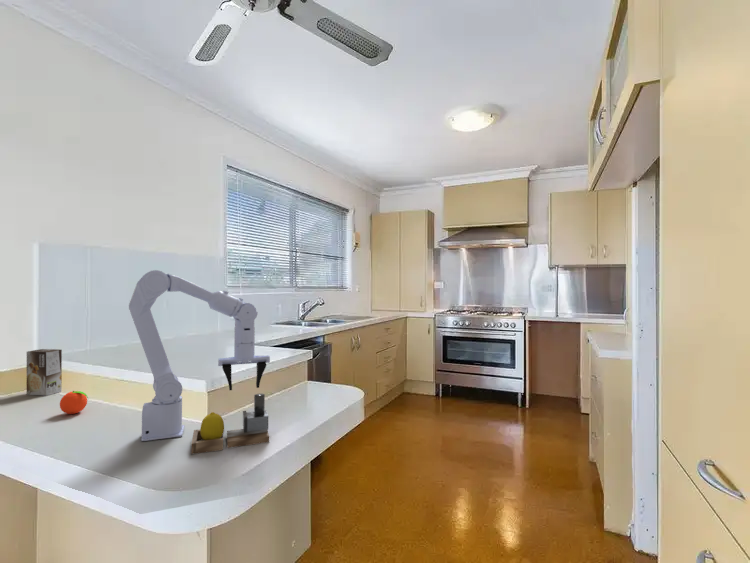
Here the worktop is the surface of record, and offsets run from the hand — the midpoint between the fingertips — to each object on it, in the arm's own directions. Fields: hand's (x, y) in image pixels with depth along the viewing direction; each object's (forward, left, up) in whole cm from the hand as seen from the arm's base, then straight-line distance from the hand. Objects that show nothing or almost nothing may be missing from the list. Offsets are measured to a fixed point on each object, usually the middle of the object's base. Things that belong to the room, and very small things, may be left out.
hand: (244, 388), depth 117 cm
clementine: (-49, +26, -10) cm, 56 cm away
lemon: (-8, -16, -10) cm, 21 cm away
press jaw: (+2, -16, -7) cm, 17 cm away
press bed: (0, -16, -9) cm, 19 cm away
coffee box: (-68, +59, -10) cm, 91 cm away
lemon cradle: (-8, -16, -9) cm, 20 cm away
